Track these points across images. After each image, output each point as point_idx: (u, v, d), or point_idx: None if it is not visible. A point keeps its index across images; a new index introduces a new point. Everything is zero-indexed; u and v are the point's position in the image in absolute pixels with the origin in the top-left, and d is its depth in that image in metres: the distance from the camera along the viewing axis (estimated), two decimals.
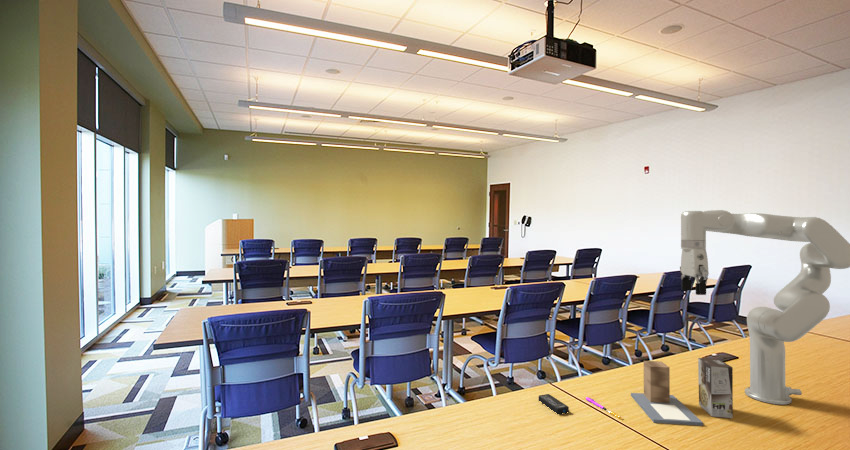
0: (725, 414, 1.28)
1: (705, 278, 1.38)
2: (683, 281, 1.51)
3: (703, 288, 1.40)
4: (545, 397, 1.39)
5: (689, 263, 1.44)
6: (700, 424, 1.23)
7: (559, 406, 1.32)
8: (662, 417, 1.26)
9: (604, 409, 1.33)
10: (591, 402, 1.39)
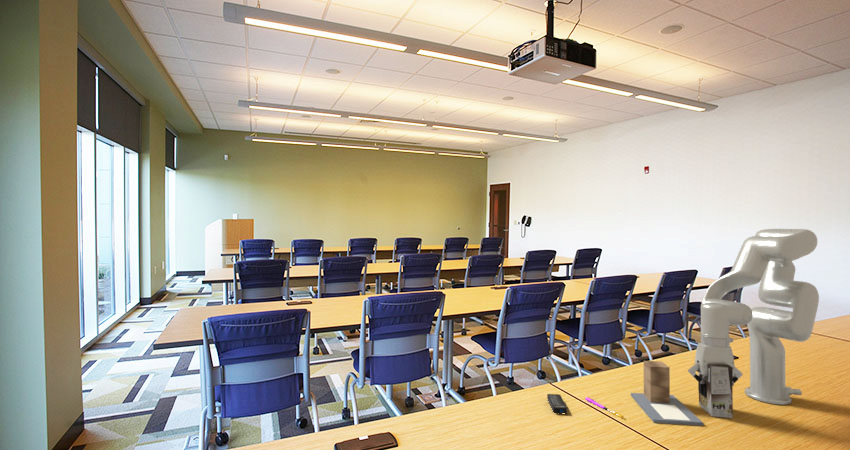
0: (725, 414, 1.28)
1: None
2: None
3: None
4: (552, 396, 1.40)
5: (726, 363, 1.30)
6: (700, 424, 1.23)
7: (557, 406, 1.32)
8: (662, 417, 1.26)
9: (605, 409, 1.34)
10: (591, 402, 1.39)
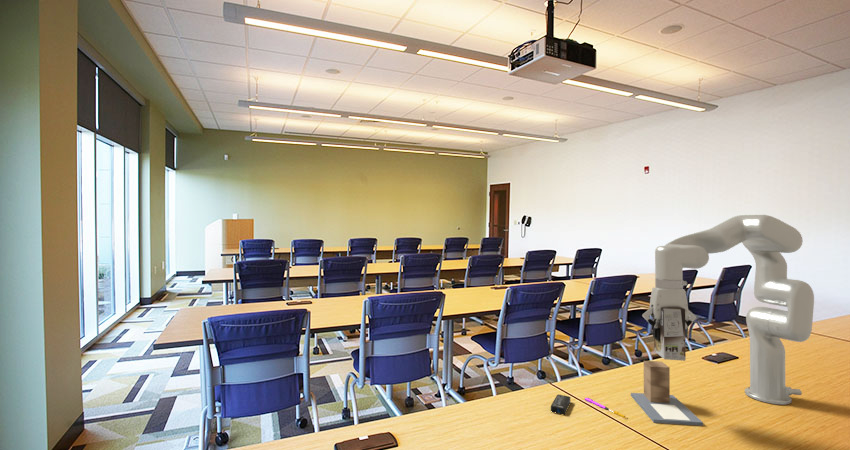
0: (678, 357, 1.25)
1: None
2: (659, 330, 1.29)
3: None
4: (560, 397, 1.39)
5: (679, 306, 1.27)
6: (700, 424, 1.23)
7: (556, 405, 1.33)
8: (662, 417, 1.26)
9: (606, 409, 1.34)
10: (591, 402, 1.39)
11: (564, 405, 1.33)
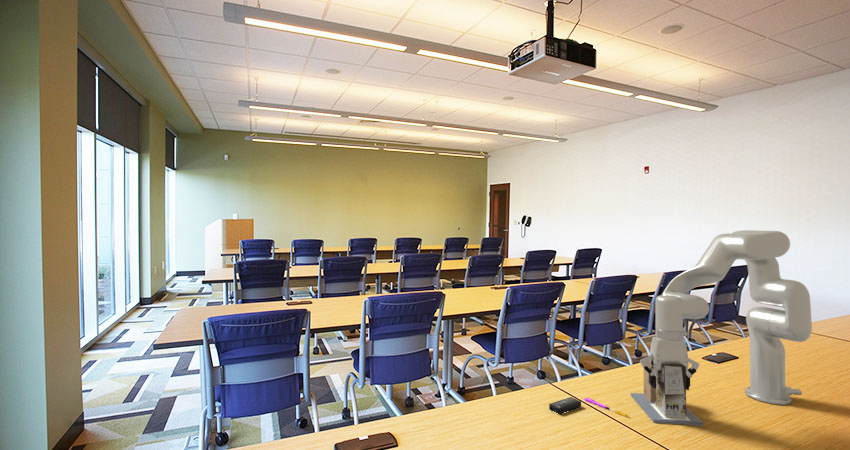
0: (679, 414, 1.25)
1: None
2: (655, 378, 1.29)
3: None
4: (570, 399, 1.37)
5: (680, 357, 1.27)
6: (700, 424, 1.23)
7: (555, 404, 1.33)
8: (662, 417, 1.26)
9: (607, 408, 1.34)
10: (591, 402, 1.39)
11: (563, 406, 1.32)
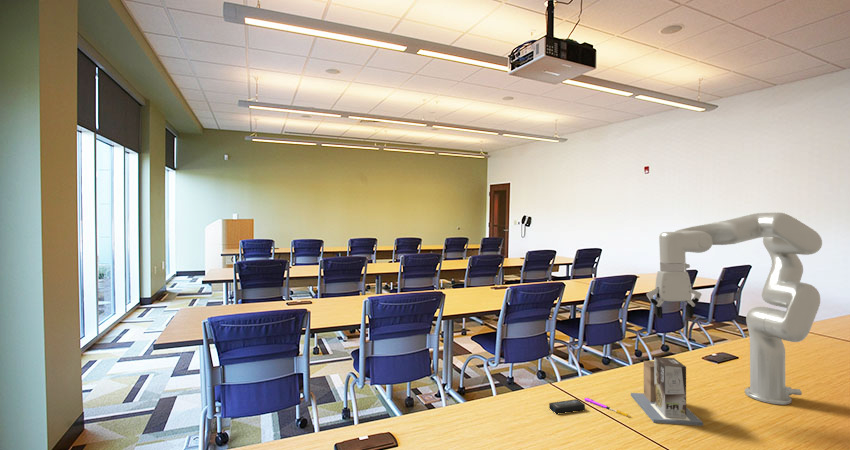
0: (679, 414, 1.25)
1: None
2: (661, 308, 1.38)
3: None
4: (574, 401, 1.36)
5: (683, 287, 1.36)
6: (700, 424, 1.23)
7: (555, 404, 1.34)
8: (662, 417, 1.26)
9: (608, 408, 1.34)
10: (592, 402, 1.39)
11: (562, 406, 1.32)
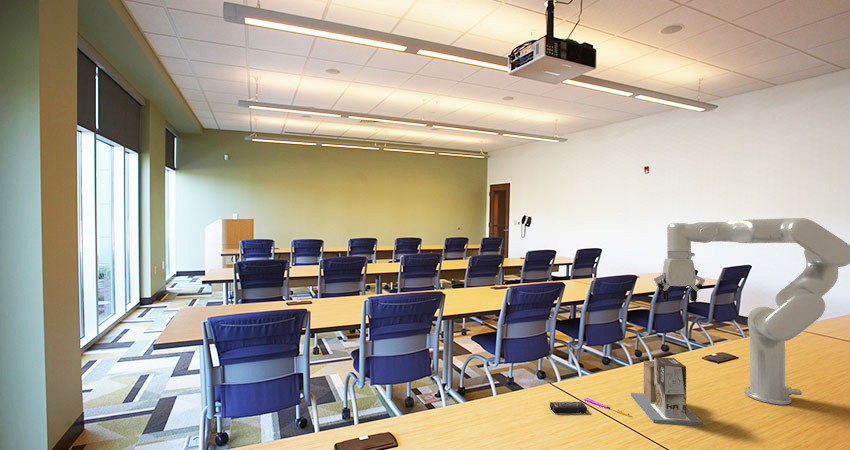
0: (679, 414, 1.25)
1: None
2: (667, 292, 1.52)
3: None
4: (577, 403, 1.34)
5: (688, 273, 1.50)
6: (700, 424, 1.23)
7: (555, 404, 1.34)
8: (662, 417, 1.26)
9: (608, 408, 1.34)
10: (592, 403, 1.39)
11: (561, 407, 1.32)
